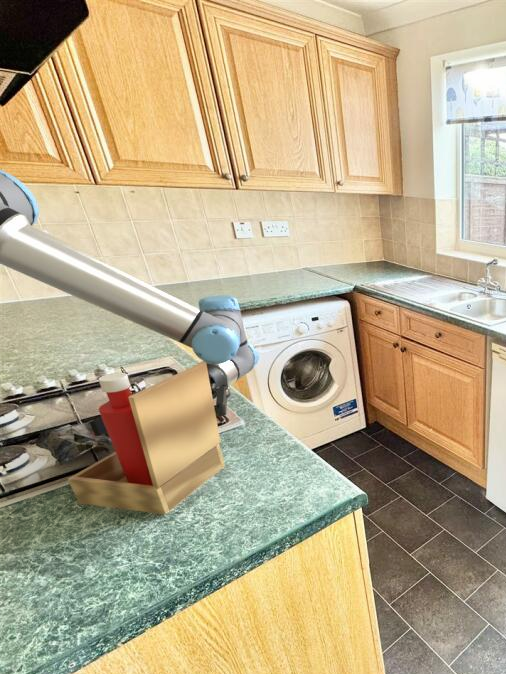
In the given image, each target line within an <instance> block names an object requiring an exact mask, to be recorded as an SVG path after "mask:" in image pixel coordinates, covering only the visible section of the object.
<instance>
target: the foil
mask: <svg viewBox="0 0 506 674" xmlns="http://www.w3.org/2000/svg"><path fill="white" fill-rule="evenodd" d="M93 420H94V419H91V420H88V421H87V422H83V423H81V422H80V423H76V424H72V425H71V424H66V425H63V426H60V427H55V428H52V429H47V430H42V431H41V433H40V434H39V435H38V437H37V438H36V439H35V446H36V447H37V448H39V449H43V450H46V451H48V452H50V454H51V456H52V457H53V458H54V460H55V463H54V466H59V467H61V466H62V465H65V464H67V463H68V462H70V461H72V460H74V459H75V458H76V457H78V456H79V455H81V454H82V453H83V452H85V451H89V450H90V449H93V447H94V446H97V447H102V448H105V452H106V453H107V454H109V455H110V454H112V453H114V452H115V449H114V447H113V444H112V442H111V439H110V437H109V434H108V432H105V433H104V434H102V435H101V436H95V434H94V432H93V429H92V427H91V425H90V422H91V421H93Z"/></svg>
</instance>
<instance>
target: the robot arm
mask: <svg viewBox="0 0 506 674" xmlns="http://www.w3.org/2000/svg"><path fill="white" fill-rule="evenodd" d="M39 213H40V209H39V204H38V202H37V199H36V198H35V196H34V194H33V193H32V191H31V190H30V188H28V187H27V186H26V184H24V183H23V182H22V181H21V180H19V179H18V178H17V177H15V176H13V175H12V174H10V173H8V172H6V171H4V170H3V169H0V265H2V266H4V267H7V268H9V269H11V270H14V271H16V272H18V273H20V274H23V275H25V276H28V277H30V278H32V279H34V280H37V281H39V282H41V283H43V284H45V285H47V286H50V287H53V288H55V289H57V290H59V291H61V292H63V293H66V294H68V295H71V296H72V297H75V298H77V299H80V300H81V301H84V302H86V303H89V304H91V305H93V306H96V307H98V308H100V309H102V310H105V311H107V312H109V313H112V314H113V315H116V316H118V317H121V318H123V319H125V320H126V321H127V320H128V321H130V322H132V323H134V324H136V325H139V326H141V327H143V328H146V329H148V330H150V331H153V332H154V333H157V334H159V335H161V336H163V337H166V338H168V339H171V340H173V341H175V342H177V343H180V344H181V345H183V346H187V347H188V348H190V349H192V351H193V353H194V355H196V357H197V358H199V359H200V360H201V361H200V362H199V363H198V364H200V363H202V362H203V363H206V365H207V370H208V376H209V381H210V387H211V392H212V397H213V400H215V399H216V401H215V404H214V408H215V414H216V415H218V416H219V417H224V416H226V415H227V413H228V412H227V410H228V409H227V408H228V399H229V398H230V397H231V391H230V387H231V386H232V385H233V384H235V383H236V382H238V381H239V380H240V379H241V378H243V377H244V376H245V375H247V374H248V373H250V372H251V371H252V370H253V368H255V366H256V365H257V364H258V362H259V357H260V355H259V352H258V350H257V349H256V348H255V346H254V345H253V344H251V343H250V342H248V340H247V338H246V331H245V327H244V322H243V318H242V309H241V308H240V305H239V301H238V299H237V298H236V297H234V296H232V295H225V294H224V295H223V294H219V295H210V296H204V297H202V298H200V299H199V300H198V303H197V304H198V307H196V306H194V305H192V304H190V303H188V302H186V301H184V300H182V299H180V298H177V297H176V296H174V295H171V294H169V293H168V292H166V291H164V290H162V289H160V288H157V287H155V286H154V285H152V284H151V283H147V282H146V281H143V280H141V279H140V278H137V277H135V276H134V275H131V274H129V273H128V272H125V271H123V270H122V269H120V268H117V267H115V266H113V265H112V264H109V263H107V262H105V261H104V260H101V259H100V258H97V257H95V256H93V255H91V254H89V253H87V252H85V251H83V250H82V249H79V248H77V247H75V246H73V245H71V244H69V243H67V242H65V241H63V240H61V239H59V238H57V237H55V236H54V235H51V234H49V233H47V232H45V231H43V230H42V229H39V228H37V227H35V226H34V225H35V224H36V222H37V221H38V218H39ZM144 389H145V388H143V389H140V390H138V391H134V392H131V395H134V394H136V393H138V392H140V391H142V390H144ZM107 402H109V400H108V401H107ZM92 420H93V421H91V420H90V421H91V422H90V425H91V427H92V429H93V432H94V434H95V436H101V435H102V434H104V433H105V432H107V430H106V427H105V425H104V422H103V420H102V417H101V415H99V416H97V417H96V418H94V419H92Z"/></svg>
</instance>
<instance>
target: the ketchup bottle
mask: <svg viewBox="0 0 506 674" xmlns="http://www.w3.org/2000/svg"><path fill="white" fill-rule="evenodd" d="M98 383H99V386H100V388H101V390H102V392H103V393H105V394H106V396H107V398H108V401H109V402H108V401H107V402H104V403H103V404H101V405H100V406H99V407H98V413H99V416H101V417H102V420H103V422H104V425H105V427H106V430H107V432H108V434H109V437H110V439H111V442H112V444H113V447H114V449H115V452H116V454H117V456H118V459H119V461H120V464H121V466H122V469H123V471H124V474H125V476H126V478H127V481H128V483H133V484H141V485H149V486H153V483H152V480H151V476H150V473H149V469H148V465H147V462H146V458H145V455H144V451H143V448H142V444H141V441H140V437H139V433H138V430H137V426H136V423H135V419H134V416H133V412H132V409H131V405H130V401H129V398H128V397H129V396H131V393H132V392H131V389H130V387H131V383H130V380H129V377H128V374H127V373H126V372H113V373H107V374H104V375H101V376H100V377H98Z"/></svg>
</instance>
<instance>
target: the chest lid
mask: <svg viewBox="0 0 506 674" xmlns="http://www.w3.org/2000/svg"><path fill="white" fill-rule="evenodd" d="M201 362H202V361H201ZM199 363H200V362H199ZM199 363H197V364H195V365H193V366H191V367H189V368H187V369H185V370H183V371H181V372H179V373H176V374H173V375H172V376H170V377H168V378H166V379H163V380H161V381H159V382H157V383H155V384H153V385H150V386H149V387H147V388H143V389H144V390H143V389H141V390H142V391H140V390H139V391H140V392H138V393H136V394H134V395H131V396H129V397H128V398H129V401H130V405H131V409H132V412H133V416H134V419H135V423H136V426H137V430H138V433H139V437H140V441H141V444H142V448H143V451H144V455H145V458H146V462H147V465H148V469H149V473H150V476H151V480H152V483H153V487H156V488H159V487H160V486H161V485H163V484H164V483H166V482H167V481H168V480H170V479H171V478H172V477H174V476H175V475H177V474H178V473H179V472H181V471H182V470H183V469H185V468H186V467H187V466H189V465H190V464H192V463H193V462H194V461H196V460H197V459H198V458H200V457H201V456H203V455H204V454H205V453H207V452H208V451H209V450H211V449H212V448H213V447H215V446H216V445H218V444H219V445H220V443H222V442H221V436H220V430H219V425H218V420H217V414H215V408H214V405H215V404H214V399H213V397H212V392H211V387H210V381H209V376H208V370H207V365H206V363H203V362H202V363H200V364H199Z"/></svg>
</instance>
